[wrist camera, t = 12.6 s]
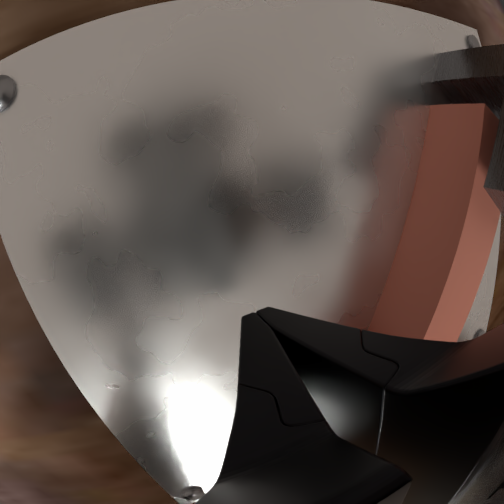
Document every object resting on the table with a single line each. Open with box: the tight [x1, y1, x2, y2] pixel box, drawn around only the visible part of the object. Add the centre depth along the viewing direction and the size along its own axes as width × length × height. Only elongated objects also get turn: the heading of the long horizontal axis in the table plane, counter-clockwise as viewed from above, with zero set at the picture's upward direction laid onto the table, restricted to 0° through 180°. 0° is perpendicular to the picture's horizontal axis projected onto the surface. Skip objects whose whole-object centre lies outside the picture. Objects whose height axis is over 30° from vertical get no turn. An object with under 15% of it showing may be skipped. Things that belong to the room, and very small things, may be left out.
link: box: [368, 103, 500, 342], centre depth 12 cm, size 17×6×3 cm, turn 165°
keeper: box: [434, 44, 504, 217], centre depth 10 cm, size 7×6×5 cm
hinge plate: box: [0, 0, 501, 504], centre depth 12 cm, size 22×24×1 cm
